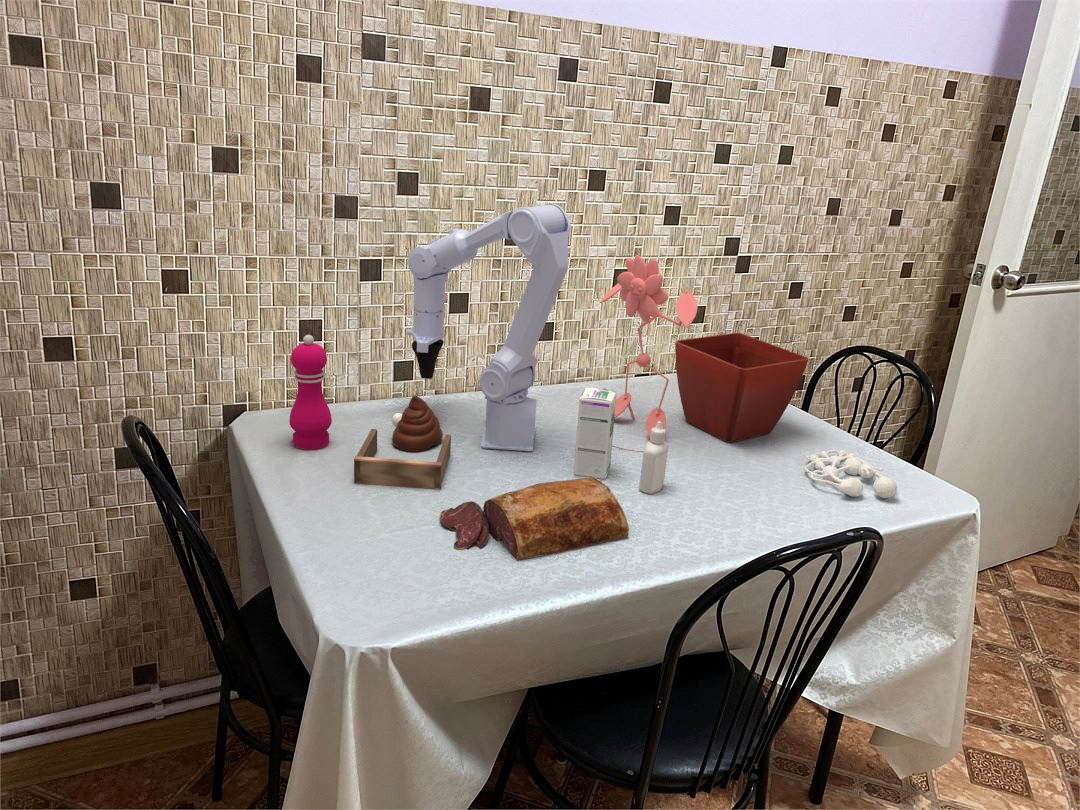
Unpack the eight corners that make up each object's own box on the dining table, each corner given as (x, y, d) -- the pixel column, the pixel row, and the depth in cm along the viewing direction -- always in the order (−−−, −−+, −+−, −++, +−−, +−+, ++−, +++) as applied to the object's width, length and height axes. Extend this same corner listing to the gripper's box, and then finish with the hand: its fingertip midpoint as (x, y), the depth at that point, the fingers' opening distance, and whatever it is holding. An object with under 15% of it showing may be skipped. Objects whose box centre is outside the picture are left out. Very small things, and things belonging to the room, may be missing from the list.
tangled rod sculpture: (786, 460, 162) (788, 440, 161) (860, 458, 162) (863, 438, 161) (820, 504, 144) (823, 482, 142) (904, 502, 144) (907, 480, 143)
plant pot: (796, 437, 170) (811, 357, 164) (729, 453, 160) (743, 368, 154) (727, 406, 185) (739, 331, 179) (662, 419, 174) (672, 340, 168)
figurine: (610, 405, 180) (625, 240, 167) (698, 449, 161) (722, 267, 148) (552, 418, 171) (563, 245, 158) (638, 466, 152) (659, 274, 139)
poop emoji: (417, 457, 148) (418, 407, 145) (380, 444, 152) (380, 395, 149) (452, 440, 156) (454, 393, 153) (416, 428, 160) (417, 382, 157)
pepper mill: (281, 445, 149) (277, 336, 142) (306, 432, 155) (304, 326, 148) (315, 454, 146) (313, 343, 139) (340, 440, 152) (338, 333, 145)
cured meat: (425, 518, 128) (426, 478, 126) (563, 489, 141) (567, 452, 138) (479, 579, 114) (482, 535, 111) (627, 541, 127) (633, 501, 124)
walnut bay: (450, 455, 150) (451, 433, 148) (440, 489, 137) (441, 465, 135) (371, 449, 150) (371, 427, 148) (354, 482, 137) (353, 458, 135)
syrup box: (605, 480, 145) (614, 401, 140) (572, 475, 146) (579, 396, 141) (610, 467, 150) (618, 390, 145) (577, 462, 151) (584, 385, 146)
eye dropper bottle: (672, 490, 143) (681, 424, 139) (645, 495, 140) (653, 429, 136) (656, 479, 146) (665, 415, 142) (630, 484, 144) (638, 419, 139)
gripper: (413, 298, 166) (412, 364, 170) (400, 317, 152) (399, 388, 157) (449, 301, 166) (447, 367, 170) (439, 320, 152) (437, 391, 157)
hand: (426, 377), depth 164 cm, fingers closed
